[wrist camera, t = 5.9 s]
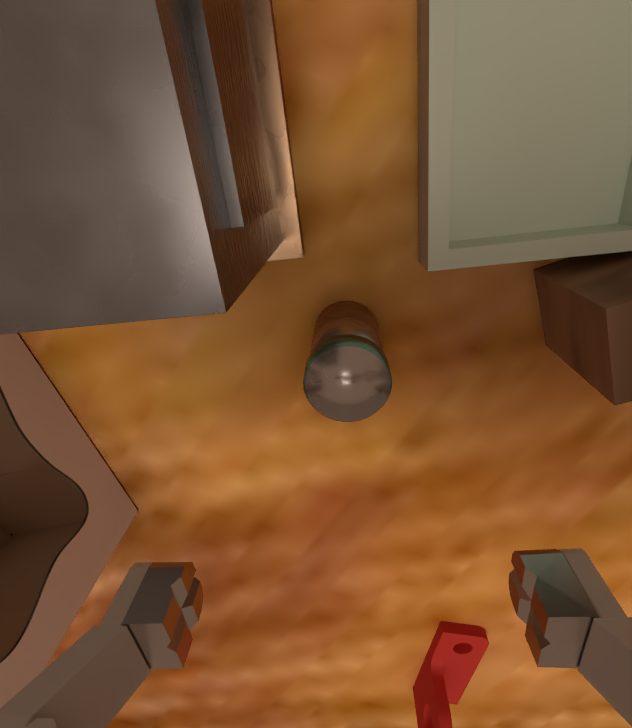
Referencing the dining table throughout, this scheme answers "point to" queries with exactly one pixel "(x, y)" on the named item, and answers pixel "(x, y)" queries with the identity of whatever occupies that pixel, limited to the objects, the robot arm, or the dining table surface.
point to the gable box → (47, 517)
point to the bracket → (447, 672)
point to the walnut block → (591, 318)
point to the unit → (139, 159)
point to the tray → (523, 130)
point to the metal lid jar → (347, 364)
